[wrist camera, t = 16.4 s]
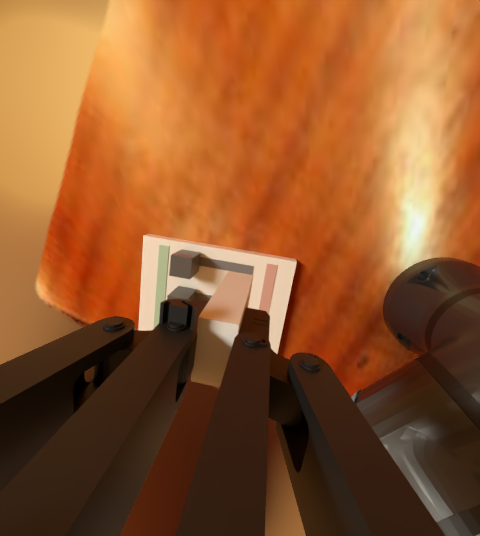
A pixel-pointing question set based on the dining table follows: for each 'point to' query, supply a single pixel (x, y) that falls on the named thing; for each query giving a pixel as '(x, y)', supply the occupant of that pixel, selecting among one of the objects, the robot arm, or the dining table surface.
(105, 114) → the dining table surface
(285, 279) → the panel
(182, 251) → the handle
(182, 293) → the handle middle
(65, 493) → the robot arm
